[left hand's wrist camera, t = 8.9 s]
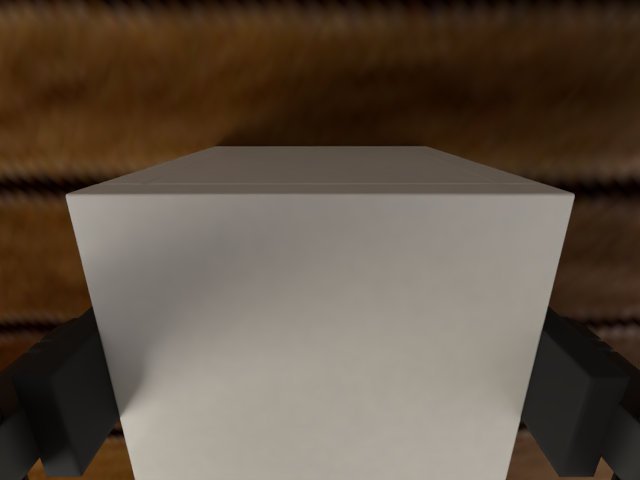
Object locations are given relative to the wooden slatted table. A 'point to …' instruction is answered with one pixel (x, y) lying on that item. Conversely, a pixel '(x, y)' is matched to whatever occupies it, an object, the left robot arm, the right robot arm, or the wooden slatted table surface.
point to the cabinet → (320, 310)
